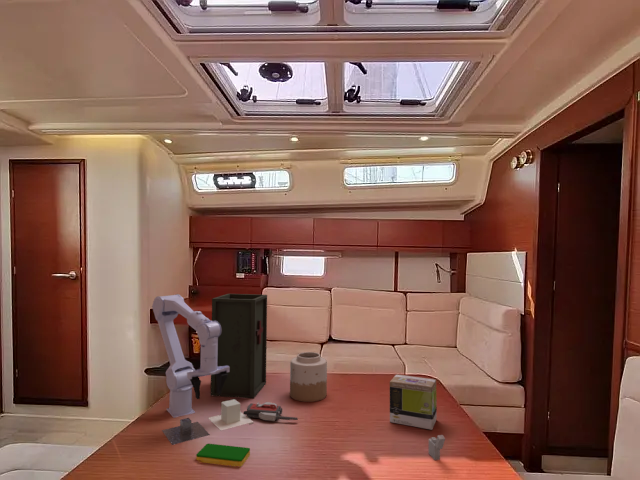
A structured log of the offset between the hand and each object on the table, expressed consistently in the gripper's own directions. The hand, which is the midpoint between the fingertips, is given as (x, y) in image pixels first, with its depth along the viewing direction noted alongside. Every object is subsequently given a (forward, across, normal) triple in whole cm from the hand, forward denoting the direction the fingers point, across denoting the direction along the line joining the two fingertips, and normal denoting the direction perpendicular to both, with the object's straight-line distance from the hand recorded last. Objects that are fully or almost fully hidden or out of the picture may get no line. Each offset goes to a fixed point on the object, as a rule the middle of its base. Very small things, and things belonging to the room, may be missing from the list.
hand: (208, 395), depth 142 cm
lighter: (+10, +47, -61) cm, 77 cm away
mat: (+9, +7, -3) cm, 12 cm away
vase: (+10, +44, +3) cm, 45 cm away
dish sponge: (+10, -4, -25) cm, 28 cm away
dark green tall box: (+10, +23, +25) cm, 35 cm away
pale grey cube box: (+9, +7, -3) cm, 12 cm away
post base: (+9, -9, -4) cm, 14 cm away
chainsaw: (+10, +21, -8) cm, 24 cm away
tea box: (+10, +61, -39) cm, 73 cm away
